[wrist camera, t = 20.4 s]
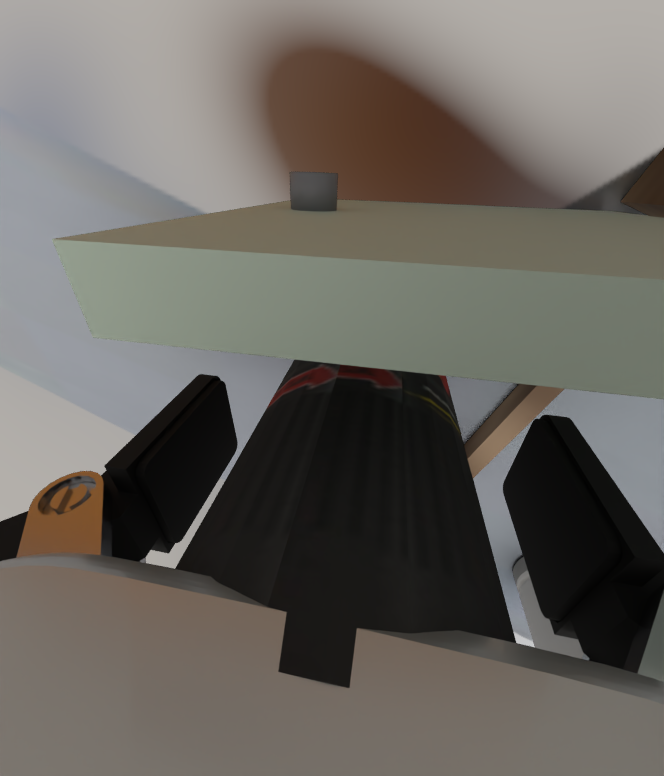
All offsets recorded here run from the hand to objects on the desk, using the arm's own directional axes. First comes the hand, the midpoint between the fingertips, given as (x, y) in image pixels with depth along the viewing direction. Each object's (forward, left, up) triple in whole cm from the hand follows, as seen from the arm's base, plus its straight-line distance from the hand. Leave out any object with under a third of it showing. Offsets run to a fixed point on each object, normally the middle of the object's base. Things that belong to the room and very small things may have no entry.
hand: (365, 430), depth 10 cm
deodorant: (0, 0, -9) cm, 9 cm away
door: (-6, +1, -8) cm, 10 cm away
